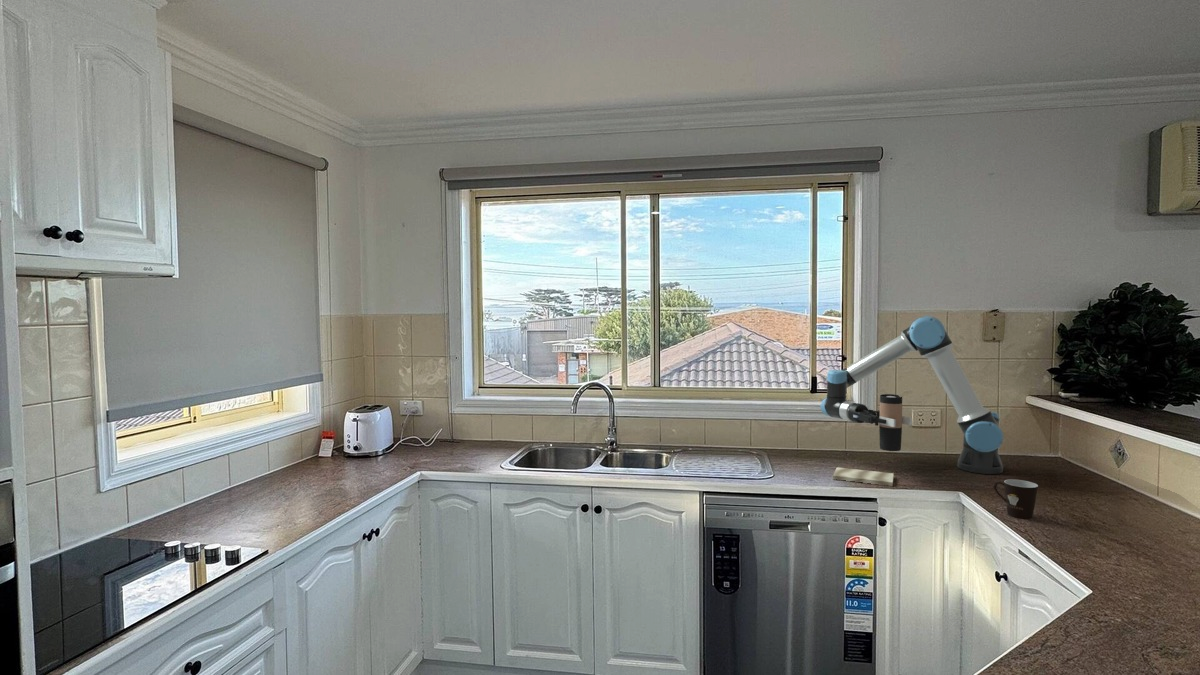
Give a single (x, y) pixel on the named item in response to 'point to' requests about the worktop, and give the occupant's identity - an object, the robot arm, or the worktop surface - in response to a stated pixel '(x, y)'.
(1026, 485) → the coffee mug
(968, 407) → the robot arm
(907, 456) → the worktop surface
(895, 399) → the travel mug
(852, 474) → the dock pad
